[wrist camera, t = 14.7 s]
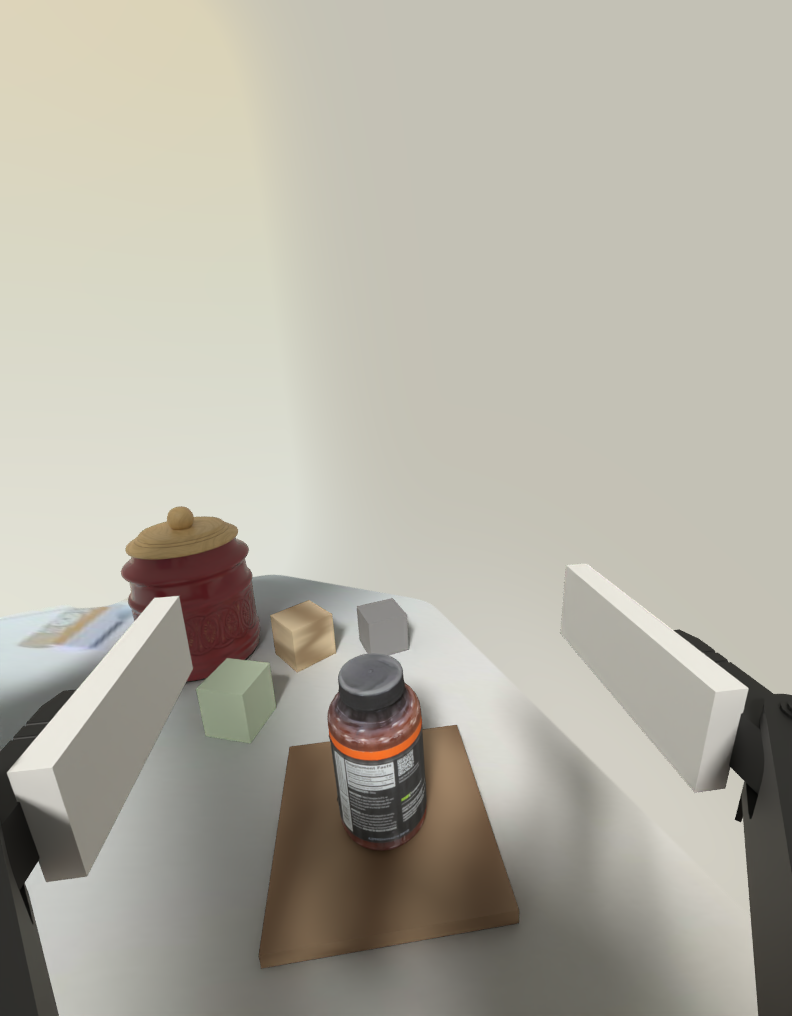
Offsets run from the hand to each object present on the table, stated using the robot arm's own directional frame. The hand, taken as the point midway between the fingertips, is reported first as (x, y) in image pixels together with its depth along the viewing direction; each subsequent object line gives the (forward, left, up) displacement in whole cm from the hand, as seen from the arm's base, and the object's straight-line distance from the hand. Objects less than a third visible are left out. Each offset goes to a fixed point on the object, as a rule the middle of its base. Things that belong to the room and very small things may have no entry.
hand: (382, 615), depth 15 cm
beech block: (-8, +32, -22) cm, 40 cm away
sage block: (-12, +22, -22) cm, 33 cm away
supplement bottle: (0, +10, -21) cm, 23 cm away
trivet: (-1, +10, -22) cm, 24 cm away
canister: (-19, +35, -22) cm, 46 cm away
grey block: (+2, +32, -22) cm, 39 cm away
